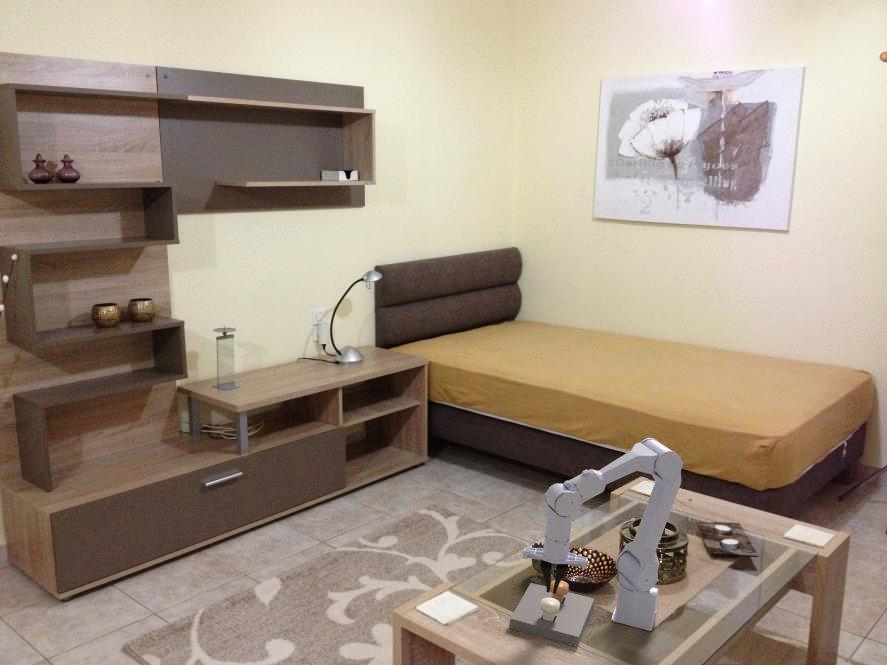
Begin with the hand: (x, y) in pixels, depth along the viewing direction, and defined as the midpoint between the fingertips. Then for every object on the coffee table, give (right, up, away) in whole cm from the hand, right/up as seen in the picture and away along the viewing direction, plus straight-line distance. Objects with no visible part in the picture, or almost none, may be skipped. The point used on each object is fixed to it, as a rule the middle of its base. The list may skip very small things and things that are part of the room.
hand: (551, 590), depth 188 cm
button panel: (+1, -8, +6) cm, 10 cm away
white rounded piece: (0, -7, +2) cm, 7 cm away
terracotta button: (+3, -5, +10) cm, 11 cm away
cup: (+1, -4, +25) cm, 25 cm away
